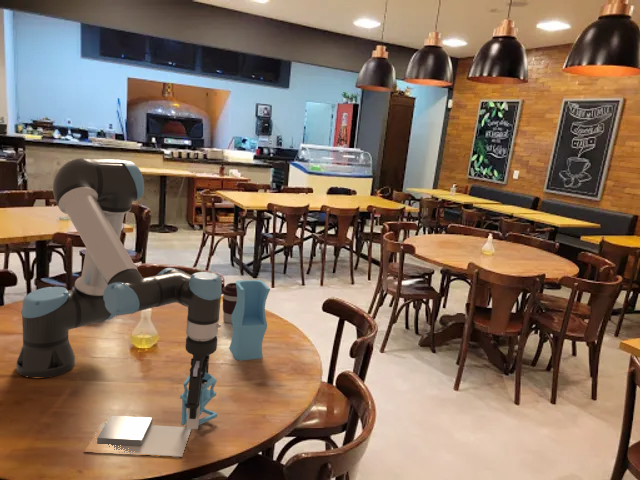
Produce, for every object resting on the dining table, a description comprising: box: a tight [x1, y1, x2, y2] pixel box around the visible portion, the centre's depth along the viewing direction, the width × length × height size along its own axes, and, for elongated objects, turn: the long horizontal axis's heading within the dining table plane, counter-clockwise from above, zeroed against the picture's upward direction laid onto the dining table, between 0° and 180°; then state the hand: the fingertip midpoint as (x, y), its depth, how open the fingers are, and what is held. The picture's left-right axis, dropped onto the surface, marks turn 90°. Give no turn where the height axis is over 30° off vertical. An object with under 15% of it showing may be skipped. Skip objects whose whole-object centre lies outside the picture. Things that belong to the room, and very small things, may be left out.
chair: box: [179, 372, 218, 426], centre depth 120 cm, size 8×8×12 cm
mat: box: [91, 422, 192, 458], centre depth 113 cm, size 22×11×1 cm, turn 94°
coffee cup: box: [221, 282, 237, 325], centre depth 189 cm, size 10×10×15 cm
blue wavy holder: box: [228, 279, 271, 361], centre depth 161 cm, size 10×10×25 cm
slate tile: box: [97, 414, 153, 446], centre depth 114 cm, size 10×2×9 cm
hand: (196, 416), depth 121 cm, fingers closed on chair, 9 cm apart
